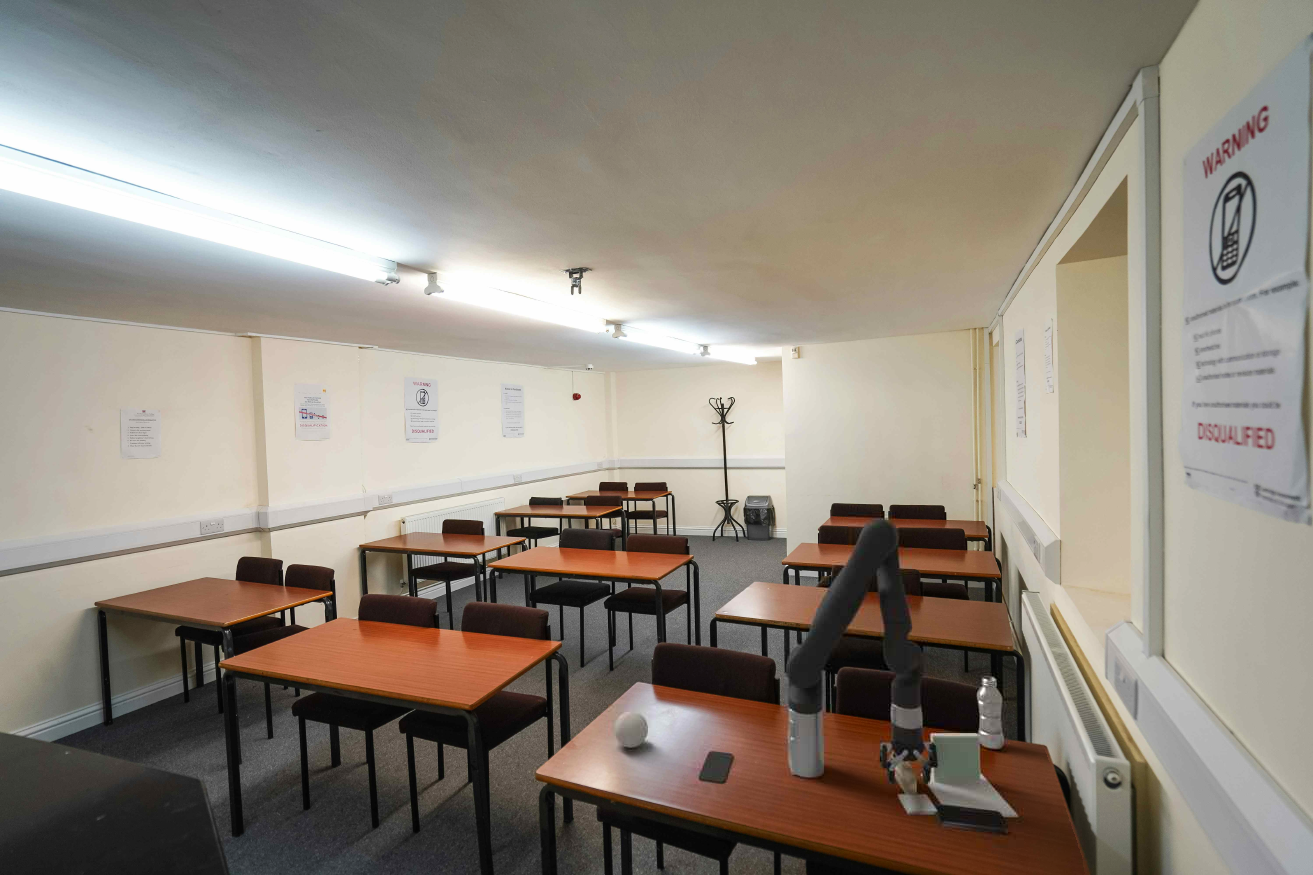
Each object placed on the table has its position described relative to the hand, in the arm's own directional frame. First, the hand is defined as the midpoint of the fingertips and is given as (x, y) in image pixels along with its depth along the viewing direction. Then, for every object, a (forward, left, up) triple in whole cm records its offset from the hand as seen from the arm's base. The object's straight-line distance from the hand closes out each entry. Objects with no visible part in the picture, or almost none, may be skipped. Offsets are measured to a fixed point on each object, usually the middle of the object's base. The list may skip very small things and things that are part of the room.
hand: (909, 782), depth 157 cm
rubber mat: (+14, -2, -2) cm, 14 cm away
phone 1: (-49, +11, -2) cm, 51 cm away
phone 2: (+10, -12, -2) cm, 16 cm away
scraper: (0, -3, -2) cm, 4 cm away
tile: (+14, +4, -1) cm, 14 cm away
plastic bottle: (+32, +22, -2) cm, 38 cm away
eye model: (-74, +23, -2) cm, 78 cm away
